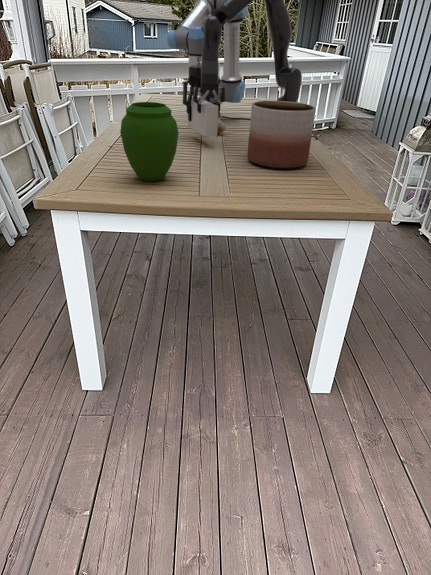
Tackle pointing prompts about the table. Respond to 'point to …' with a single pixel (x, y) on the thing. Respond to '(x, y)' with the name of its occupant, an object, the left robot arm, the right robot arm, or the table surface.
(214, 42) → the right robot arm
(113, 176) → the table surface
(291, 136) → the planter
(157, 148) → the vase
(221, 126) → the seashell
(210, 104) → the box
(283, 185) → the table surface
